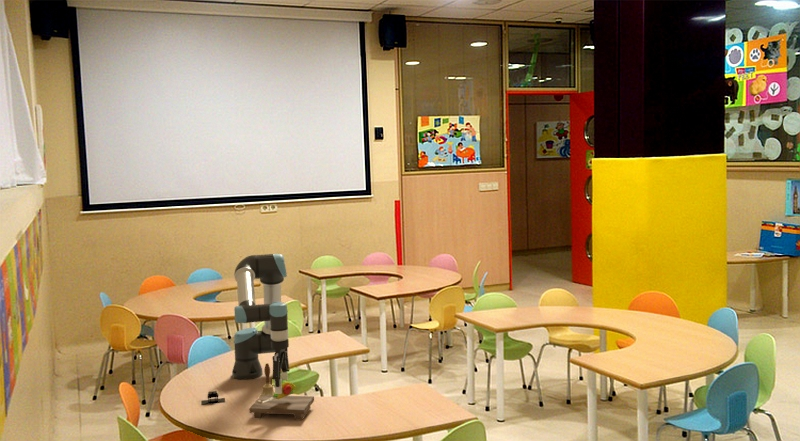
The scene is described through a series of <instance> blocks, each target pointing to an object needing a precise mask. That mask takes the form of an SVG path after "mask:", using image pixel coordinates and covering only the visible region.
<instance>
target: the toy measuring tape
mask: <svg viewBox="0 0 800 441" xmlns="http://www.w3.org/2000/svg"><path fill="white" fill-rule="evenodd" d="M281 383H282V394H275V393H274V394H273V397H271V398H269V399H268V400H265V401H260V400H258V401H257V400H256V401H257V403H259V404H262V403H264V402H267V401H270V400H273V399H280V398H283V397H286V396H292V395H293V394H294V390H295V389H296V385H295V384H294V383H292V382H289V380H288V381H285V380H282V381H281Z"/></svg>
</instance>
